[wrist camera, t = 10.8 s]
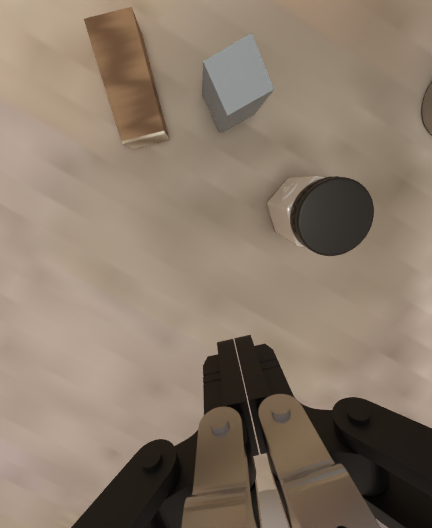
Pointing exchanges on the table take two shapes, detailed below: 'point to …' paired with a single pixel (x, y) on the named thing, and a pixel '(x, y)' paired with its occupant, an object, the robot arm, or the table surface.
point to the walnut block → (127, 77)
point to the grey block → (235, 83)
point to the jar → (322, 213)
